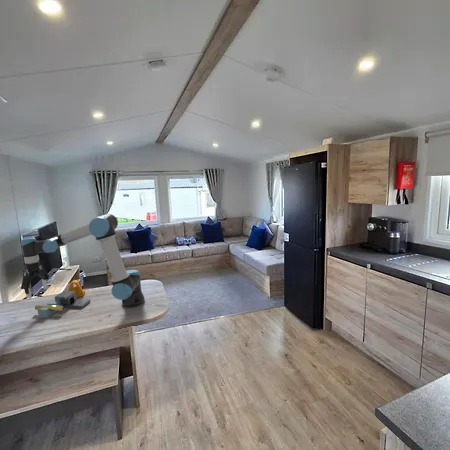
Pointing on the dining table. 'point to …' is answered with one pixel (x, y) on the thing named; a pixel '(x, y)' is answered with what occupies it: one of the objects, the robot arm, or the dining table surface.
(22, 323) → the dining table surface
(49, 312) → the v block
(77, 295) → the bracket
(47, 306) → the axle
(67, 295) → the block
